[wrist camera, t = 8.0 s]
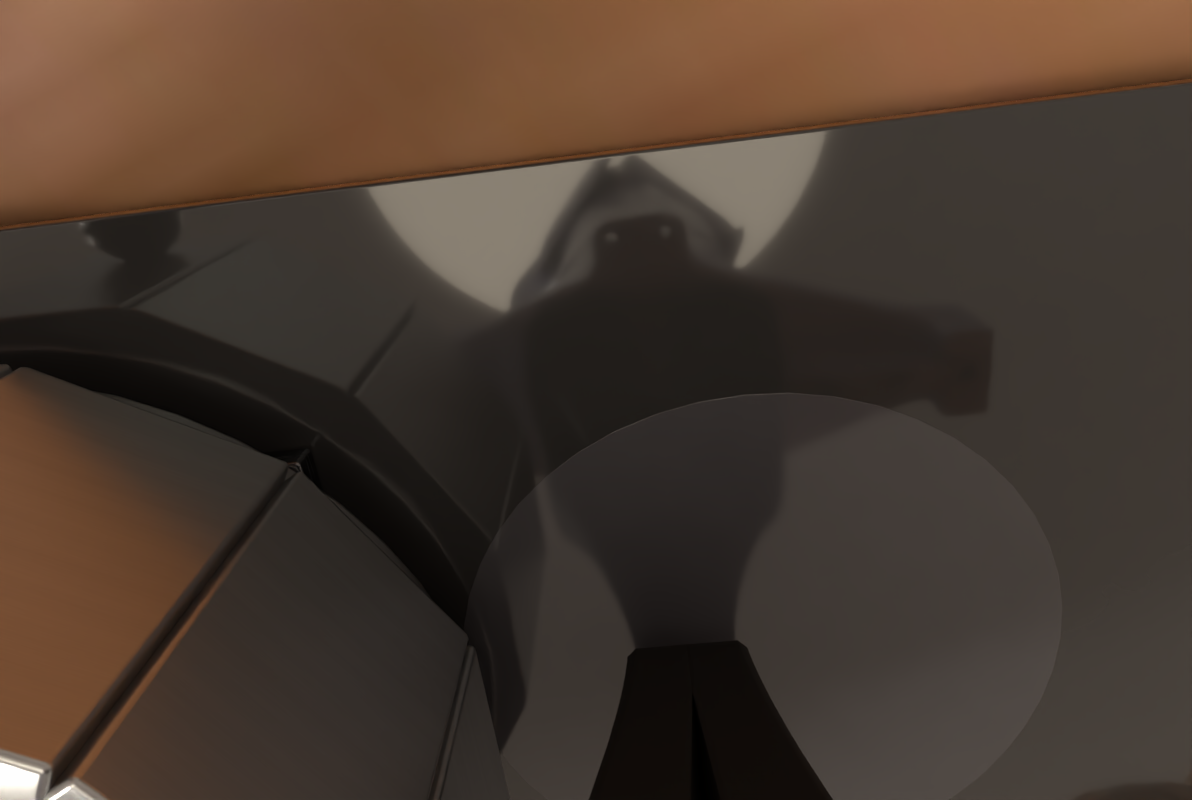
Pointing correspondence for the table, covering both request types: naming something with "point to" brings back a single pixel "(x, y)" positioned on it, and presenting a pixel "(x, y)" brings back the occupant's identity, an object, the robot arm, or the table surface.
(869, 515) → the hob
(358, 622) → the saucepan
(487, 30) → the table surface
